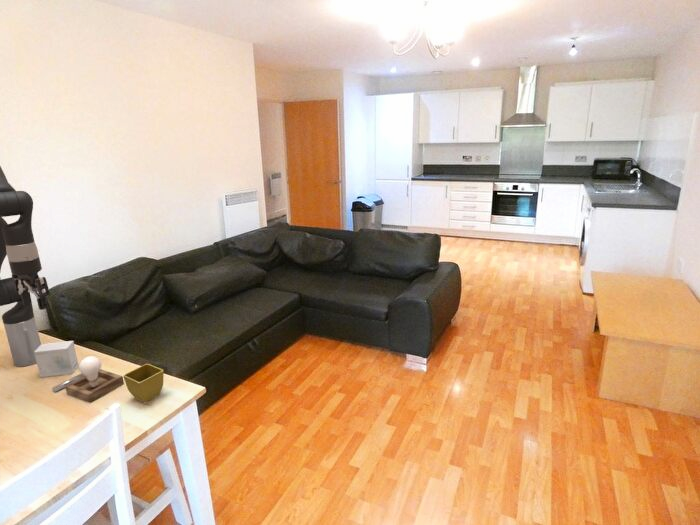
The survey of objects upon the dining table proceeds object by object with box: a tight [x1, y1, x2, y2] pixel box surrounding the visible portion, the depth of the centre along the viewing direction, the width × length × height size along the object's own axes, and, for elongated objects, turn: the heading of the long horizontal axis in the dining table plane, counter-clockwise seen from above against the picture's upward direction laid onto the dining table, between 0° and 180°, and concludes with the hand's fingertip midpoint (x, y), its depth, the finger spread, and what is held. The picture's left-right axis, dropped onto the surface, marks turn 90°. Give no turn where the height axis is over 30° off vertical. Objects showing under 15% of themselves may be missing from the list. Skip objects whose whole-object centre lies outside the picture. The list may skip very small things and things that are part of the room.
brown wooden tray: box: [64, 368, 125, 404], centre depth 141 cm, size 12×12×3 cm
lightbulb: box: [78, 355, 102, 387], centre depth 139 cm, size 6×6×11 cm
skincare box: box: [34, 340, 79, 378], centre depth 151 cm, size 10×6×10 cm, turn 103°
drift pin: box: [51, 372, 84, 393], centre depth 144 cm, size 11×2×2 cm, turn 155°
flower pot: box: [123, 363, 164, 403], centre depth 135 cm, size 9×9×9 cm
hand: (35, 306), depth 132 cm, fingers open, 8 cm apart
